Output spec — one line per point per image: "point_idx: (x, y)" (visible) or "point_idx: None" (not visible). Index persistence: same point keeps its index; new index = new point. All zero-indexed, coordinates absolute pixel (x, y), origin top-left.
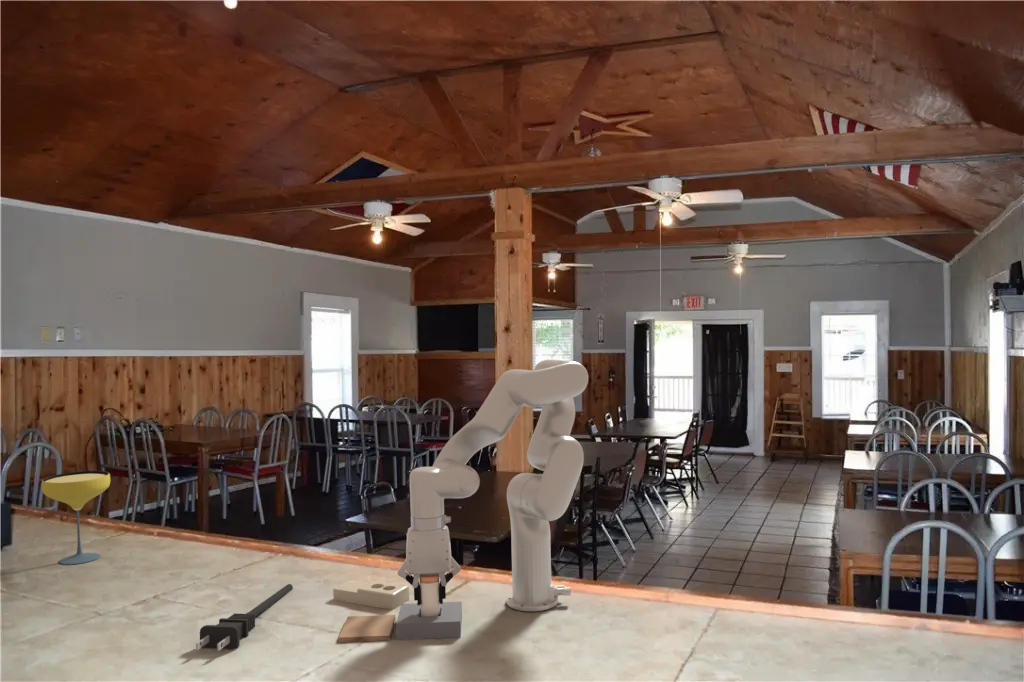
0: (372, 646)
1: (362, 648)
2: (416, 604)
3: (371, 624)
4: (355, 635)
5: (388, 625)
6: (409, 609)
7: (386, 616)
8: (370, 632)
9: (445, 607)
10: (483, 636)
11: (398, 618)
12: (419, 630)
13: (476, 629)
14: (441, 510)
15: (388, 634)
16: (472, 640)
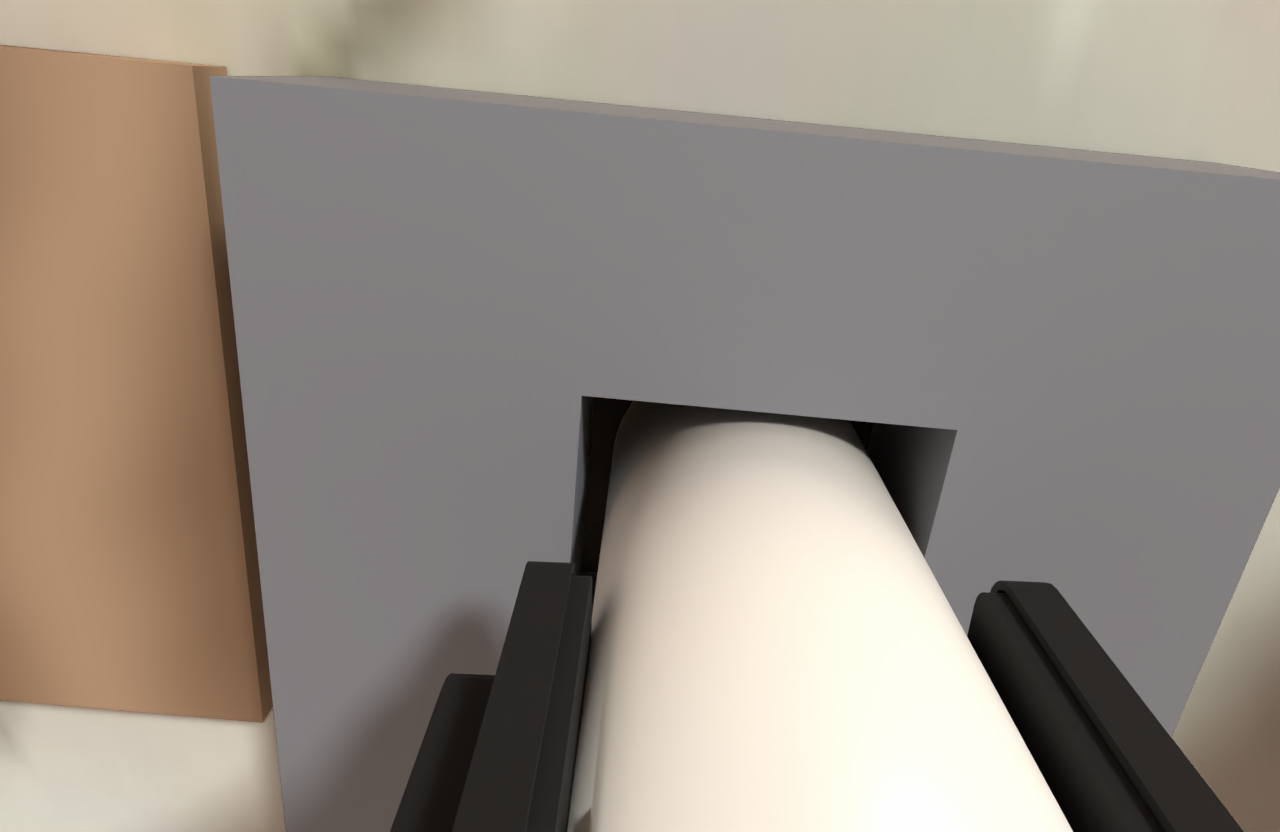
0: (144, 778)
1: (60, 798)
2: (515, 172)
3: None
4: None
5: (184, 463)
6: (405, 400)
7: (65, 122)
8: (17, 617)
9: (1026, 423)
10: (1247, 768)
11: (284, 693)
12: None
13: (1245, 605)
14: None
15: (245, 697)
16: None
